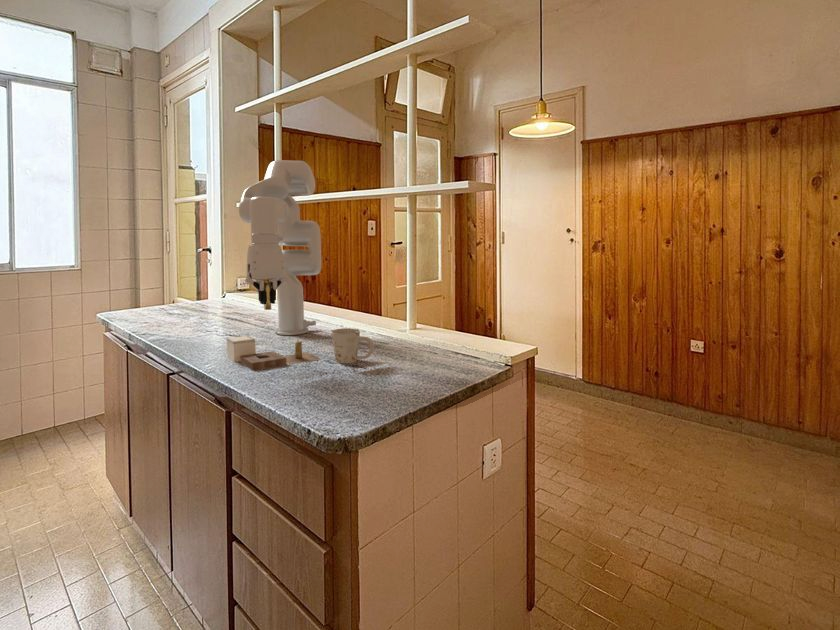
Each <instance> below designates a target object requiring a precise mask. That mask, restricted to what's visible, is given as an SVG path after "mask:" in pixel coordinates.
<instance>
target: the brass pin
mask: <svg viewBox="0 0 840 630" xmlns="http://www.w3.org/2000/svg"><path fill="white" fill-rule="evenodd" d="M264 291H266V304H263V309H264V311H265V310H266V311H267V310H268V311H269V310H272V303H271V284H270V281H264Z"/></svg>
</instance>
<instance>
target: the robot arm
mask: <svg viewBox="0 0 840 630" xmlns="http://www.w3.org/2000/svg"><path fill="white" fill-rule="evenodd" d="M315 178H316V177H315V176H314V173H313V171H312V168H311V166H310V165H309V164H308V163H307V162H305V161H304V160H290V159H289V160H288V159H287V160H285V159H283V160H282V159H280V160H273V161H271V162H270V163H269V164H268V166H267V169H266V172H265V174H264V178H263V180H260V181H258V182H256V183H253V184H252V185H250V186H248V187H247V188H246V189H244V191H243V193H242V195H241V198H240V199H239V205H238V214H239V217H240V219H241V220H242V221H243V222H245V223H247V224H250V236H251V239H250V240H251V245H248V247H247V253H246V254H247V255H246V256H247V257H246V278H245V281H244V282H245V283H246V284H248V285H251V286H253V287H254V288H255V289H256V290H257V291H258V302H259V303H260V305H264V304H266V291H264V282H265V281H266V280H267V281H268V280H269V282H270V284H271V305H273V304H274V305H275V304H276V300H277V310H278V311H277V313H278V314H277V315H278V327H277V328H274V333H275V334H277V335H279V336H280V335H281V336H297V335H304V334H306V333H309V326H311V327H312V326H316V325H317V321H316V320H307V319H305V310H304V309H305V308H304V306H305V305H304V287H303V284H302V282H301V281H300V280H299V278H297V276H317V275H319V274H320V273H321V271H322V238H321V237H322V234H321V229H320V226H319V224H318V222H316V221H314V220H301V211H300V210H301V209H300V206H299V205H300V204H298V202H297V201H296V199H294V198H293V196H296V197H297V196H298V197H299V196H302V197H303V196H304V197H306V196H307V197H308V196H312V195H313V194H314V193H315V190H316V179H315ZM282 246H284V247H285V246H286V247H307V248H308V249H282ZM276 292H277V293H276Z"/></svg>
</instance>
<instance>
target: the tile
mask: <svg viewBox="0 0 840 630" xmlns="http://www.w3.org/2000/svg"><path fill="white" fill-rule="evenodd" d="M302 343H303V341H299V340H298V341H295V342H294V354H289V355H283V356H284V357H286V359H287V364H289V365H294V364H301V363H306V362H312V361H318V360H321V358H320V357H318V356H315V355H314V354H311V353H309V352H303V344H302Z"/></svg>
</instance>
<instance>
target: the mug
mask: <svg viewBox="0 0 840 630" xmlns="http://www.w3.org/2000/svg"><path fill="white" fill-rule="evenodd" d="M330 333H331V340H332V345H333V346H332V347H333V352H334V360H335V363H339V364H352V363H356V362H357V360H358V359H359V360H361V359H362V360H365V359H368V358H369V357H371V356H372V354H373V353H374V351H375V343H374V341H373V340H372V339H371V338H370V337H369V336H360V334H361V331H360V330H359V329H358V328H357V329H356V328H335V329H333V330H331V332H330ZM360 341H361V342H367V343H368V345H369V350H368V352H367V353H366V355H358V353H359V352H358V350H359V345H360V344H359V343H360Z"/></svg>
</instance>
